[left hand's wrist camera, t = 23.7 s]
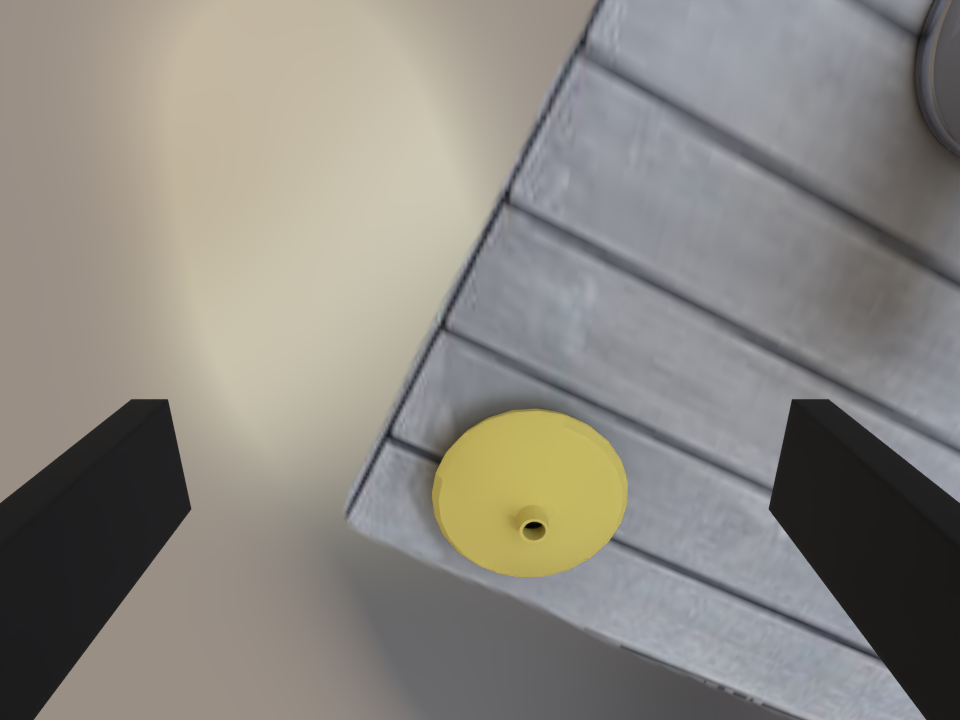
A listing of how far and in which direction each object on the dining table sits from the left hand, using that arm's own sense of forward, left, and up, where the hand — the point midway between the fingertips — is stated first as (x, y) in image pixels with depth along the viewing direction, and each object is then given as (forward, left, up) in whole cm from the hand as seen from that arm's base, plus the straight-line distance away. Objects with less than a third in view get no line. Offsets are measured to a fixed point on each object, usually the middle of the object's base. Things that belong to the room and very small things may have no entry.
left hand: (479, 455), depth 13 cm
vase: (+21, -7, -32) cm, 39 cm away
